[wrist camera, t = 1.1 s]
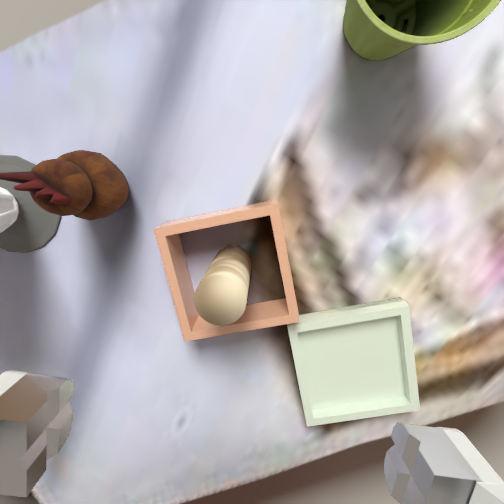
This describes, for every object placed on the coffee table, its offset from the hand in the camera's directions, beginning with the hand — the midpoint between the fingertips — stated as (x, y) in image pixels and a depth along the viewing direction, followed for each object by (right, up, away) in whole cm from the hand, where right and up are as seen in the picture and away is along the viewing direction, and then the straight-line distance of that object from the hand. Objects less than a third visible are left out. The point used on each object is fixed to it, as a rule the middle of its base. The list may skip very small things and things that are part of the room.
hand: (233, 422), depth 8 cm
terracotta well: (-2, +3, +32) cm, 32 cm away
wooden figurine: (-16, +12, +30) cm, 36 cm away
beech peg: (-2, +3, +32) cm, 32 cm away
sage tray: (+13, -9, +34) cm, 37 cm away
